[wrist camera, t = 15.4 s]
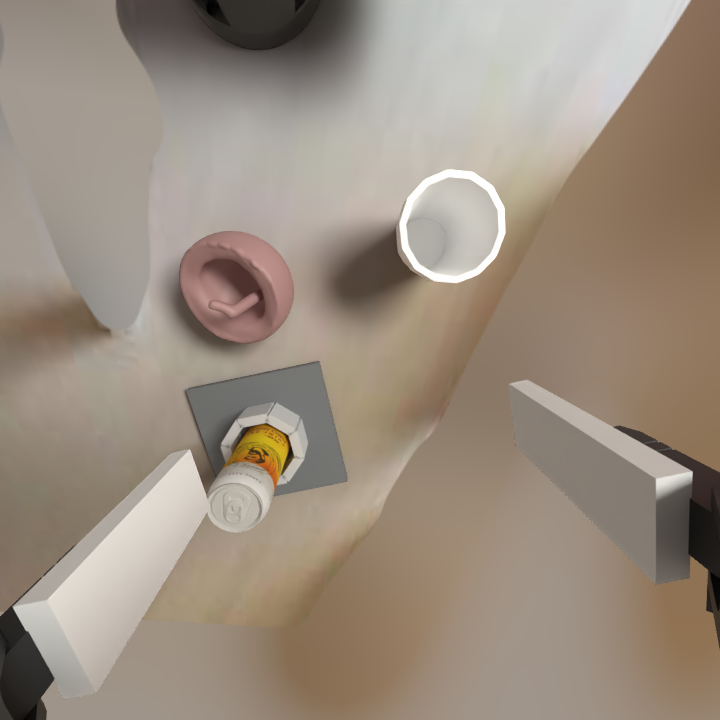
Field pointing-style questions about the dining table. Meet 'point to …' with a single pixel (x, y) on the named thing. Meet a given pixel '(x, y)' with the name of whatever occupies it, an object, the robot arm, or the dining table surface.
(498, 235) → the foam cup
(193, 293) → the mortar and pestle
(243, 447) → the beer can
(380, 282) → the dining table surface
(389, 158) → the dining table surface
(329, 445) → the socket
